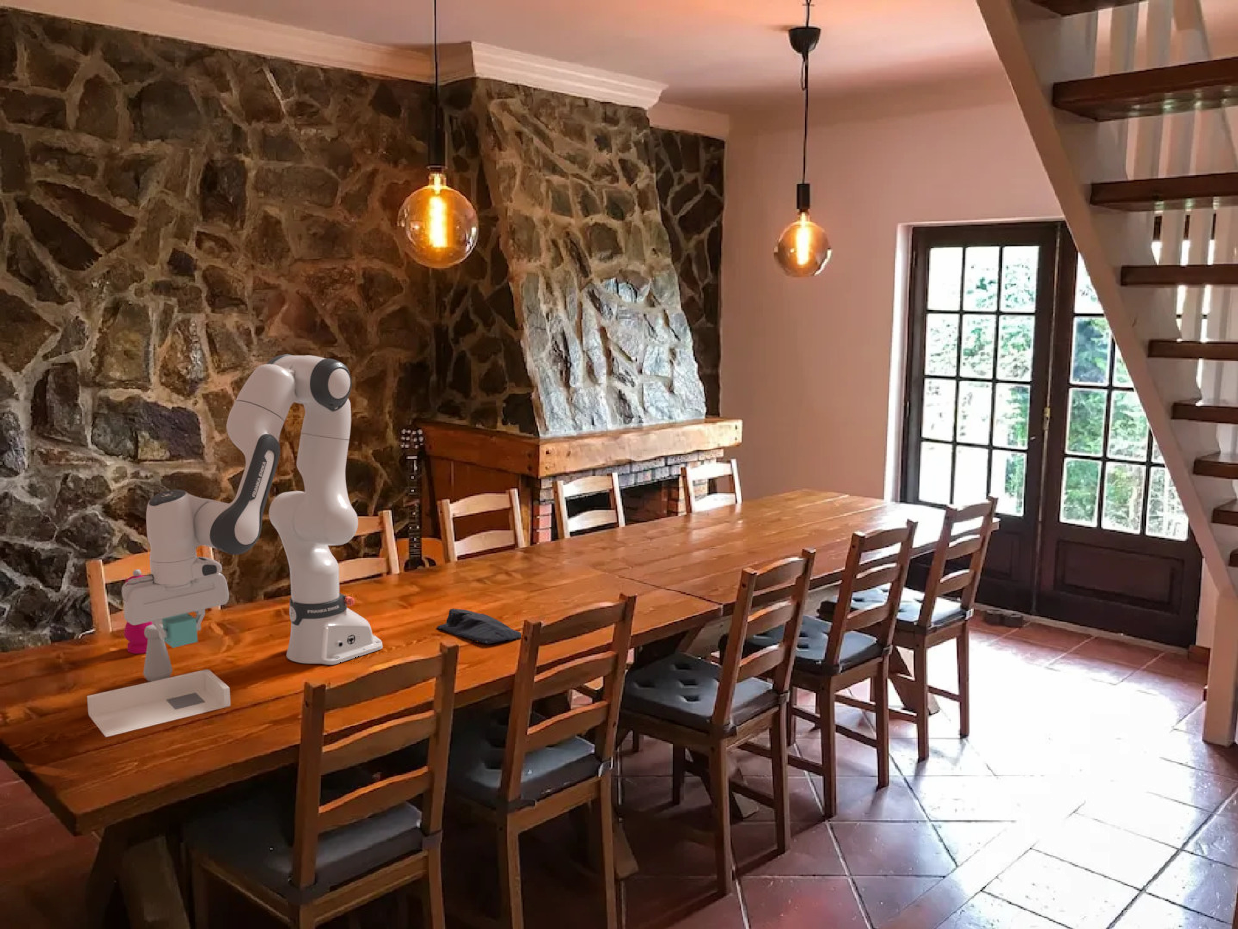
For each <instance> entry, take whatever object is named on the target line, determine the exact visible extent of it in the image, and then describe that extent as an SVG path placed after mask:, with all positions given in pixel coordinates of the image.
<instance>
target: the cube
mask: <svg viewBox="0 0 1238 929" xmlns="http://www.w3.org/2000/svg"><path fill="white" fill-rule="evenodd" d="M162 625H163V628H166V629H168V630H169V638H166V639H164V641H165V644H167V645H168V646H170V647H171V648H173V649H174V648H177V647H178V648H179V647H183V646H186V645H190V644H194V643H199V641H198V631H197V628H196V619H195V617H194V616H192V615H191V614H189V613H185V614H181V615H177V616H172V617H168V618H164V619H162Z"/></svg>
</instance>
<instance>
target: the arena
mask: <svg viewBox="0 0 1238 929" xmlns="http://www.w3.org/2000/svg"><path fill="white" fill-rule="evenodd" d="M230 689H231V688H230V687H229V686H228V684H226V683H225V682H224V681H223V680H221V679H220V678H219V677H218V676H217V675H216V674H214V673H213V672H212V671H211V670H210V669H203V670H197V671H193V672H188V673H184V674H180V675H179V674H178V675H175V676H170V678H166V679H161V680H157V681H147V682H144V683H139V684H136V685H131V686H127V687H122V688H117V689H116V688H115V689H113V690H112V689H111V690H108V691H103V692H99V693H95V694H91V695H90V694H89V695H87V696H86V698H87V700H86V701H87V712H88V716H89V718H90V719H91V720H92V721H93V723H94V724H95V725H96V727H98V729H99V731H100V732H101V733H102V734H103V736H104V737H105V738H107V737H112V736H115V735H119V734H123V733H128V732H131V731H135V730H140V729H144V728H148V727H151V726H156V725H160V724H164V723H168V722H172V721H176V720H180V719H183V718H188V717H192V716H196V715H200V714H204V713H208V712H212V711H215V710H220V709H223V708H229V707H231V692H230V691H231V690H230Z"/></svg>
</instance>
